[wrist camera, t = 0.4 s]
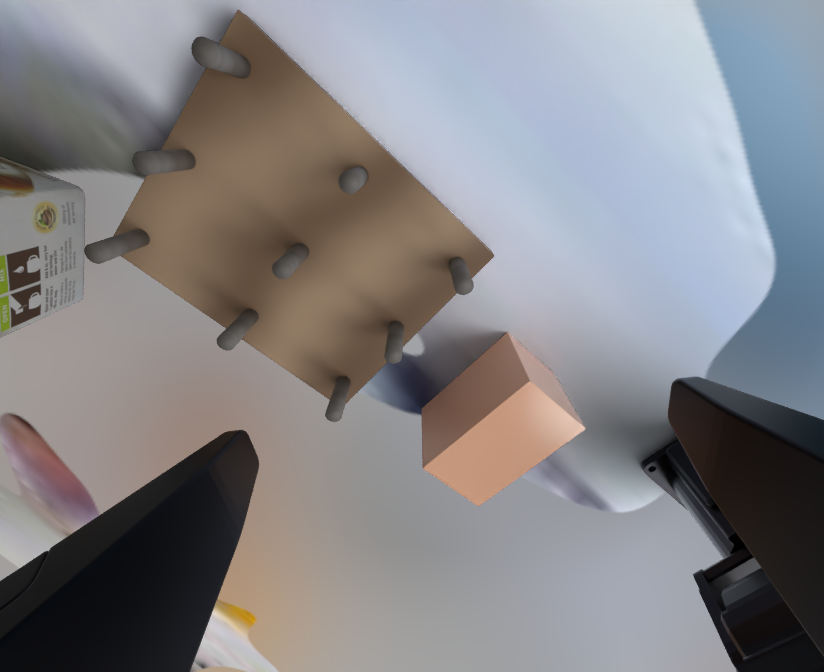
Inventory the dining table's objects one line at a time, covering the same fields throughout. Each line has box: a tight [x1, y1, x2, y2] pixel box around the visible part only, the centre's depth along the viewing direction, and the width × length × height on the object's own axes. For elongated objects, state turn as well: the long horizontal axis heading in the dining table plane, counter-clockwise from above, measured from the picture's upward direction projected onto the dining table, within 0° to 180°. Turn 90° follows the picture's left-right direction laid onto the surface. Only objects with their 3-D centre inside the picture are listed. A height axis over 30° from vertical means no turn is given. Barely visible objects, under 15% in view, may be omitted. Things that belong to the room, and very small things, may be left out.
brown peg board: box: [84, 10, 494, 422], centre depth 18 cm, size 14×12×4 cm
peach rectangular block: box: [422, 332, 586, 506], centre depth 22 cm, size 4×7×5 cm, turn 138°
